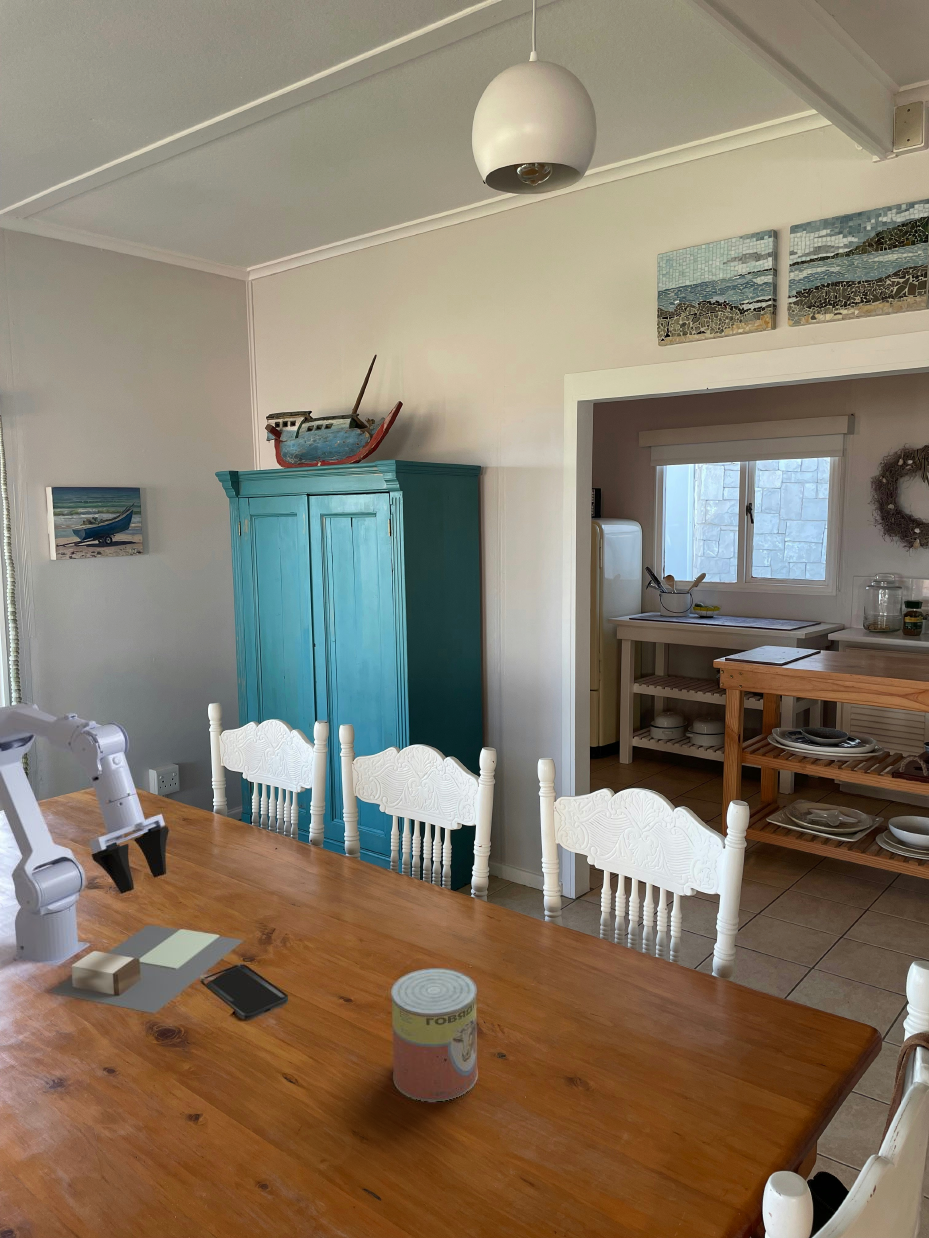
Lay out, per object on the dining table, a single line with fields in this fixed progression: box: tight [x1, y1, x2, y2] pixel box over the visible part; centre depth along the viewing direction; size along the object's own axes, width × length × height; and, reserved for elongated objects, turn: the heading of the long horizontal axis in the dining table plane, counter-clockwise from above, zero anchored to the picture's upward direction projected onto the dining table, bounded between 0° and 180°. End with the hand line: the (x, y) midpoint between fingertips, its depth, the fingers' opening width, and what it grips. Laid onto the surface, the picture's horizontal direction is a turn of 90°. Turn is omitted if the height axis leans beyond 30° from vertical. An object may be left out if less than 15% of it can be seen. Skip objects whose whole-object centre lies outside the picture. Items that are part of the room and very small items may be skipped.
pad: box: [140, 928, 220, 969], centre depth 153 cm, size 12×8×1 cm, turn 161°
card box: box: [71, 950, 141, 996], centre depth 142 cm, size 9×5×4 cm, turn 71°
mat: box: [48, 924, 244, 1014], centre depth 147 cm, size 20×24×1 cm
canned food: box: [390, 967, 479, 1103], centre depth 118 cm, size 11×11×12 cm
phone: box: [201, 963, 289, 1021], centre depth 139 cm, size 8×1×15 cm
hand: (144, 883), depth 139 cm, fingers open, 7 cm apart
